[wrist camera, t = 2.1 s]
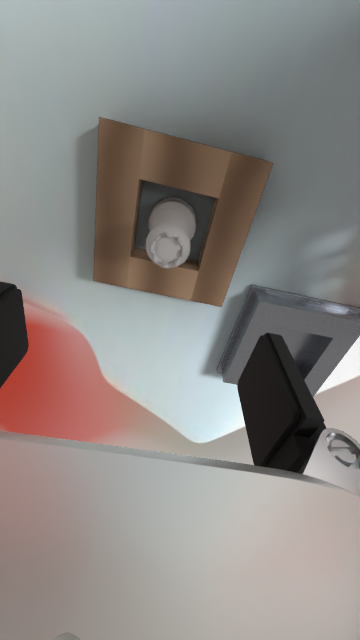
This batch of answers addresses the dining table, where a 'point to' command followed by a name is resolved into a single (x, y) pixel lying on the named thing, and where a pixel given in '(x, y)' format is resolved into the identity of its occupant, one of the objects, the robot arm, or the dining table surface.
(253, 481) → the robot arm
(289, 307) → the holder
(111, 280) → the socket block
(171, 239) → the rook chess piece
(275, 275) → the dining table surface
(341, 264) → the dining table surface
